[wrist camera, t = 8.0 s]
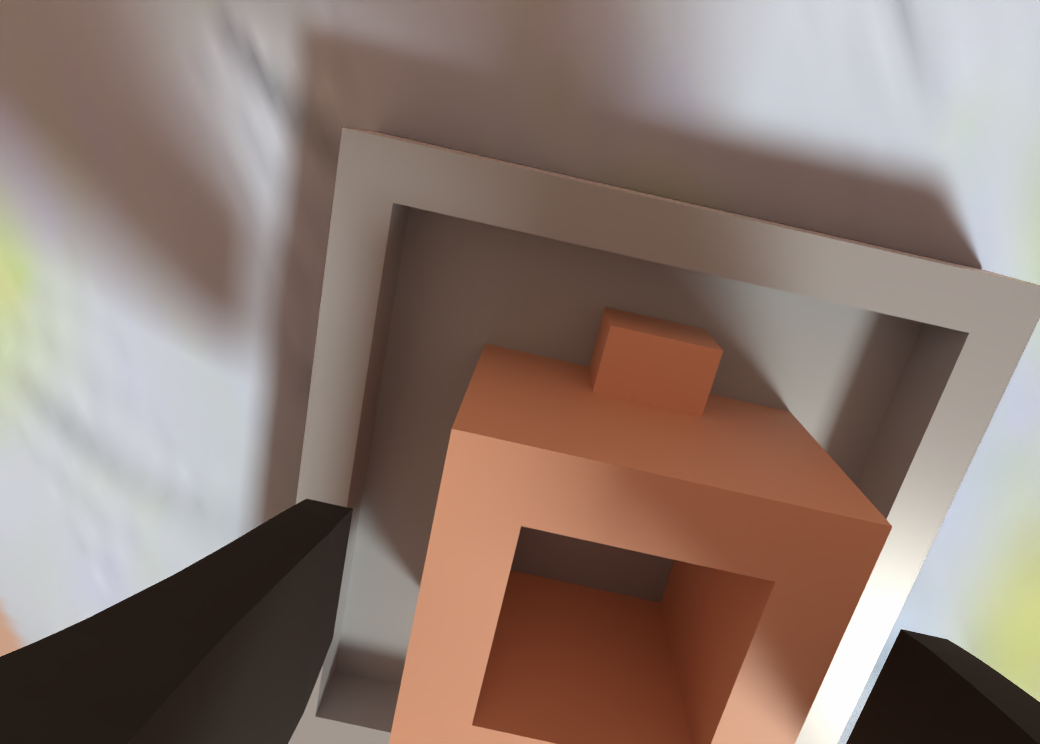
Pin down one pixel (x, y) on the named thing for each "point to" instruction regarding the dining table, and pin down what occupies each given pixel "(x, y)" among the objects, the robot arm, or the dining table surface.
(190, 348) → the dining table surface
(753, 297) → the slate tray
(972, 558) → the dining table surface
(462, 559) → the collar
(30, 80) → the dining table surface
